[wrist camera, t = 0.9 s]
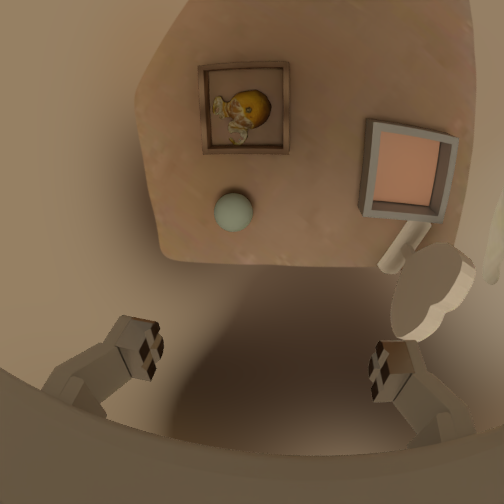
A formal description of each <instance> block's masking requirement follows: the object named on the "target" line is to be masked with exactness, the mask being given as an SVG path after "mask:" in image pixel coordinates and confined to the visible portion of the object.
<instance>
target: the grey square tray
mask: <svg viewBox="0 0 504 504" xmlns="http://www.w3.org/2000/svg"><path fill="white" fill-rule="evenodd" d="M458 143H459V138H457V137H455V136H453V135H450V134H448V133H444V132H440V131H435V130H431V129H426V128H421V127H416V126H411V125H405V124H400V123H394V122H387V121H381V120H374V119H366V133H365V146H364V157H363V167H362V176H361V185H360V193H359V201H358V208H359V210H360V212H361V214H362V216H363V217H373V218H386V219H398V220H409V221H420V222H430V223H440V224H442V223H443V219H444V215H445V211H446V207H447V203H448V198H449V194H450V189H451V184H452V179H453V174H454V169H455V163H456V157H457V150H458ZM439 146H440V148H439ZM438 153H439V155H438ZM437 160H438V161H437ZM436 166H437V167H436ZM435 172H436V173H435ZM434 178H435V179H434ZM433 183H434V184H433ZM430 198H431V199H430ZM373 200H377V201H373ZM383 201H388V202H383ZM393 202H398V203H393ZM403 203H407V204H403ZM429 203H430V204H429ZM412 204H416V205H412ZM421 205H425V206H421Z"/></svg>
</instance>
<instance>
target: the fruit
mask: <svg viewBox="0 0 504 504" xmlns="http://www.w3.org/2000/svg"><path fill="white" fill-rule="evenodd" d="M217 107H219V112H217V113H216V111H215V110H216V109H217ZM270 111H271V104H270V102H269V100H268V99H267V97H266V96H265V95H264V94H262V93H261V92H259V91H257V90H253V91H245V92H240V93H238V94H237V95H235V96H234V97H233V98H232V99H231V101H230V102H228V103H226V102H224V101H223V100H222V99H221V97H220V96H218V97H216V98H215V99H214V104H213V113H214V114H215V115H218V114H220V118H221V120H222V119H223V118H225V117H231V118H233V121H232V122H229V125H228V131H229V132H230V133H233V132H238V133H240V135H241V136H242V137H243V138H244V140H242V141H241V140H240V139H239V140H240V143H239V142H238V143H236V142H235V141H234V139H233V138H229V140H230V141H231V142H232V144H233V145H234V144H235V145H242V144H243V143H244V142H245V140H246V139H247V130H248V128H250V129H254V128H256V127H259V126H260V125H262V124H263V123H264V122H266V120H267V119H268V117H269V114H270Z"/></svg>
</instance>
